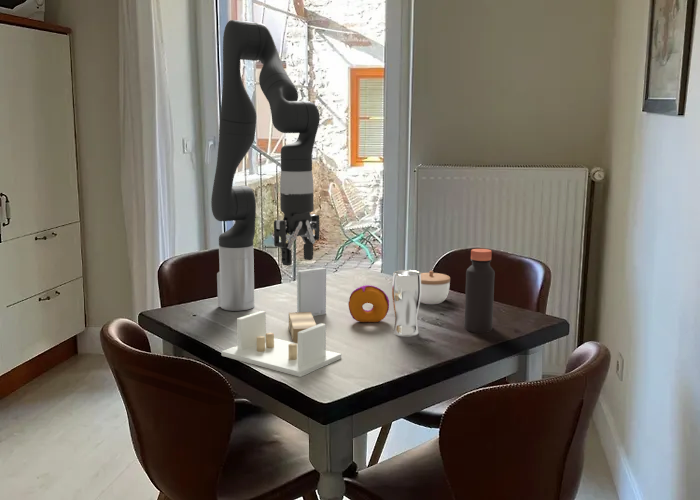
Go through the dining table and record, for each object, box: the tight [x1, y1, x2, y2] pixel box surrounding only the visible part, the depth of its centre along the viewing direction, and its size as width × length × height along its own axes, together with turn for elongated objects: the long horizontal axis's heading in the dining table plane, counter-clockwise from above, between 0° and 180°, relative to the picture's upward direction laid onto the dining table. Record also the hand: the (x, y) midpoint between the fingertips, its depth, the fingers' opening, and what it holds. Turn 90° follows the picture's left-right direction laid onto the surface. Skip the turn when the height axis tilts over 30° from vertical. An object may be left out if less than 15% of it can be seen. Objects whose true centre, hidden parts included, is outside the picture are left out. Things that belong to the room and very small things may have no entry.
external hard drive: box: [296, 267, 327, 317], centre depth 184 cm, size 2×8×12 cm, turn 123°
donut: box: [347, 284, 390, 323], centre depth 178 cm, size 8×9×10 cm
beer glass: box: [391, 269, 422, 338], centre depth 169 cm, size 7×7×15 cm
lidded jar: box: [420, 270, 451, 305], centre depth 198 cm, size 11×11×9 cm
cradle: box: [221, 310, 342, 378], centre depth 152 cm, size 22×14×8 cm, turn 55°
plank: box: [288, 311, 317, 343], centre depth 168 cm, size 14×6×4 cm, turn 10°
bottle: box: [463, 248, 496, 334], centre depth 171 cm, size 7×7×20 cm
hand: (297, 262), depth 162 cm, fingers open, 7 cm apart
